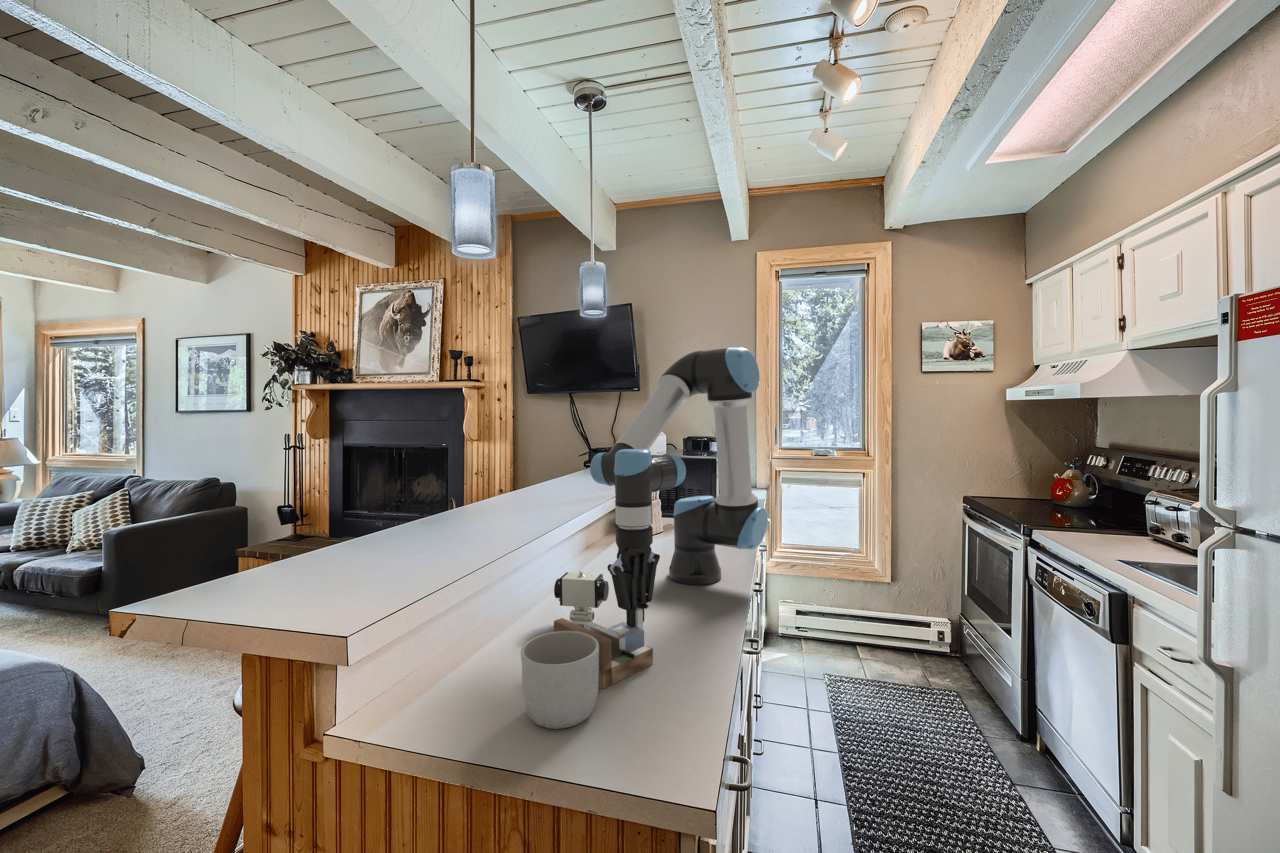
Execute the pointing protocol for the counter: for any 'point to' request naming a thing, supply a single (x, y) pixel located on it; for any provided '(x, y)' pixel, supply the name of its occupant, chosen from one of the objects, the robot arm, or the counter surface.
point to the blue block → (630, 635)
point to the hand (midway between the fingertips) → (635, 639)
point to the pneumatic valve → (581, 594)
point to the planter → (560, 678)
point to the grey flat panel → (615, 638)
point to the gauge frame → (610, 656)
